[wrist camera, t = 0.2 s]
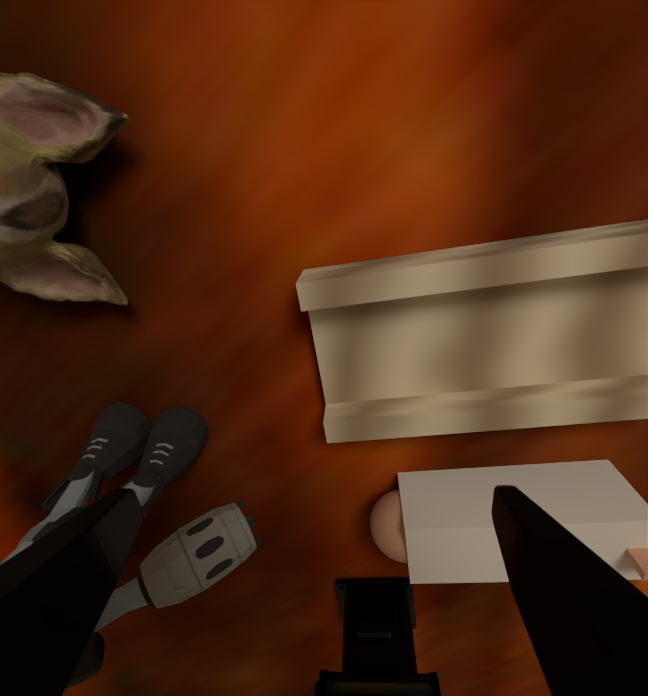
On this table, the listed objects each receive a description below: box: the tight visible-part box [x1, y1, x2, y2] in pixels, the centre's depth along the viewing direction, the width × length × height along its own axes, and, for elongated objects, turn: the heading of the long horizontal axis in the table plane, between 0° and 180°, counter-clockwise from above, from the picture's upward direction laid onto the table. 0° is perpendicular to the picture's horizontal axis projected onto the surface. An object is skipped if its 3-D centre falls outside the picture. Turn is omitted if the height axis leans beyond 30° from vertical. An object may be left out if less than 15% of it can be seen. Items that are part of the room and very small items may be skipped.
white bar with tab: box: [370, 460, 648, 584], centre depth 24 cm, size 17×5×6 cm, turn 99°
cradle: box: [296, 219, 648, 443], centre depth 20 cm, size 20×10×3 cm, turn 99°
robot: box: [0, 401, 261, 688], centre depth 18 cm, size 20×5×20 cm, turn 89°
